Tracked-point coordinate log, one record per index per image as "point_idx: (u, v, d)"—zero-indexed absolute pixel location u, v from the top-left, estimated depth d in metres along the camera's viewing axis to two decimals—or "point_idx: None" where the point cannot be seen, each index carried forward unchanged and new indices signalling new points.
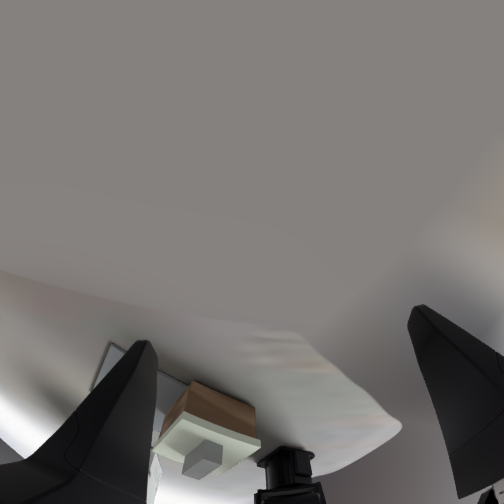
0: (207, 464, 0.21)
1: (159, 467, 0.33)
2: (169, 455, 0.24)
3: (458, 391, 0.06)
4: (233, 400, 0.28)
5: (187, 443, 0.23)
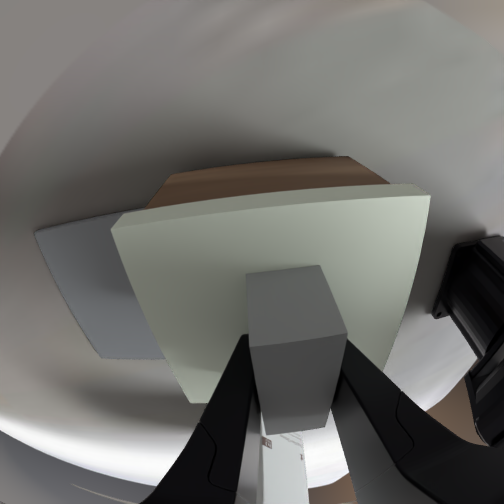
0: (294, 363, 0.06)
1: None
2: None
3: (352, 428, 0.06)
4: (287, 160, 0.12)
5: (220, 329, 0.09)
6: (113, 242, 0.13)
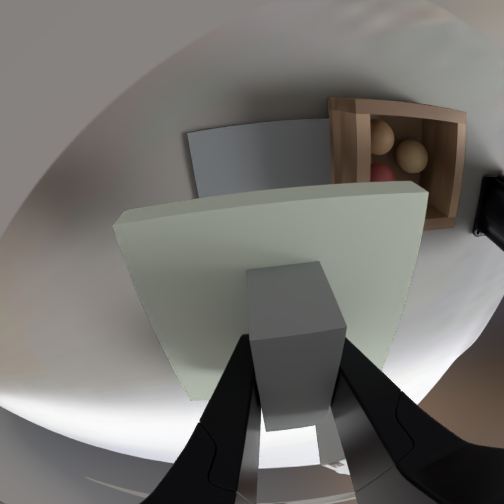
0: (293, 357, 0.06)
1: None
2: None
3: (351, 429, 0.06)
4: None
5: (220, 325, 0.09)
6: (273, 142, 0.18)
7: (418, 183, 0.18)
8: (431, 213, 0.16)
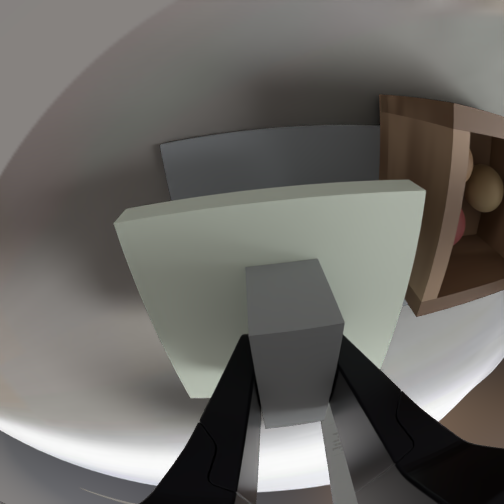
0: (292, 353, 0.06)
1: None
2: None
3: (351, 428, 0.06)
4: None
5: (220, 322, 0.09)
6: (296, 160, 0.11)
7: (479, 220, 0.12)
8: (501, 268, 0.10)
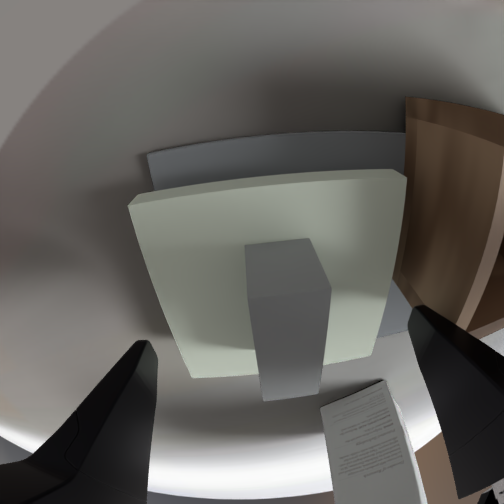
0: (286, 317, 0.07)
1: (397, 405, 0.20)
2: (229, 368, 0.12)
3: (458, 391, 0.06)
4: None
5: (221, 298, 0.10)
6: None
7: None
8: None
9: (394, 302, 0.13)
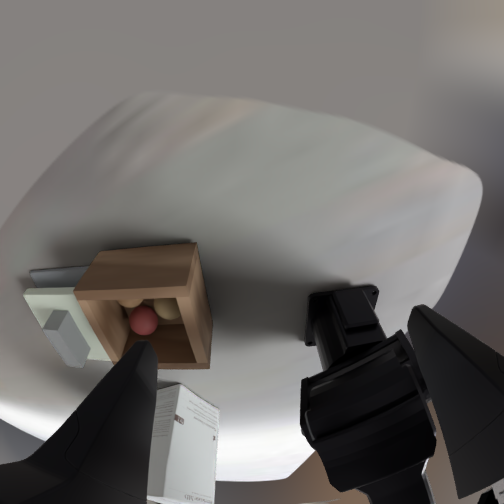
0: (52, 336, 0.18)
1: (208, 406, 0.32)
2: None
3: (458, 391, 0.06)
4: (157, 247, 0.20)
5: None
6: (75, 283, 0.21)
7: None
8: (184, 355, 0.20)
9: None
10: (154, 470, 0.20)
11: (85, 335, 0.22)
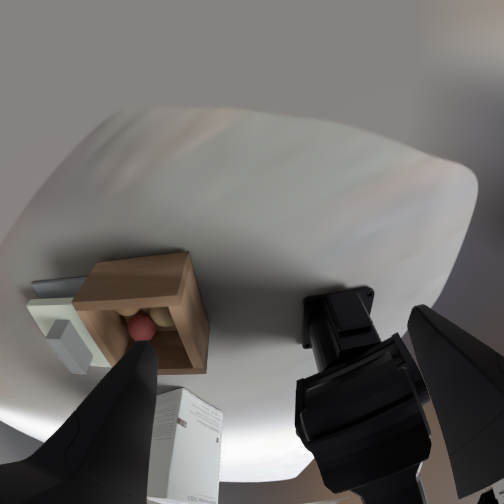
0: (55, 345, 0.19)
1: (211, 409, 0.32)
2: None
3: (458, 391, 0.06)
4: (151, 257, 0.20)
5: None
6: (75, 293, 0.22)
7: None
8: (181, 360, 0.20)
9: None
10: (158, 472, 0.21)
11: (87, 343, 0.22)
